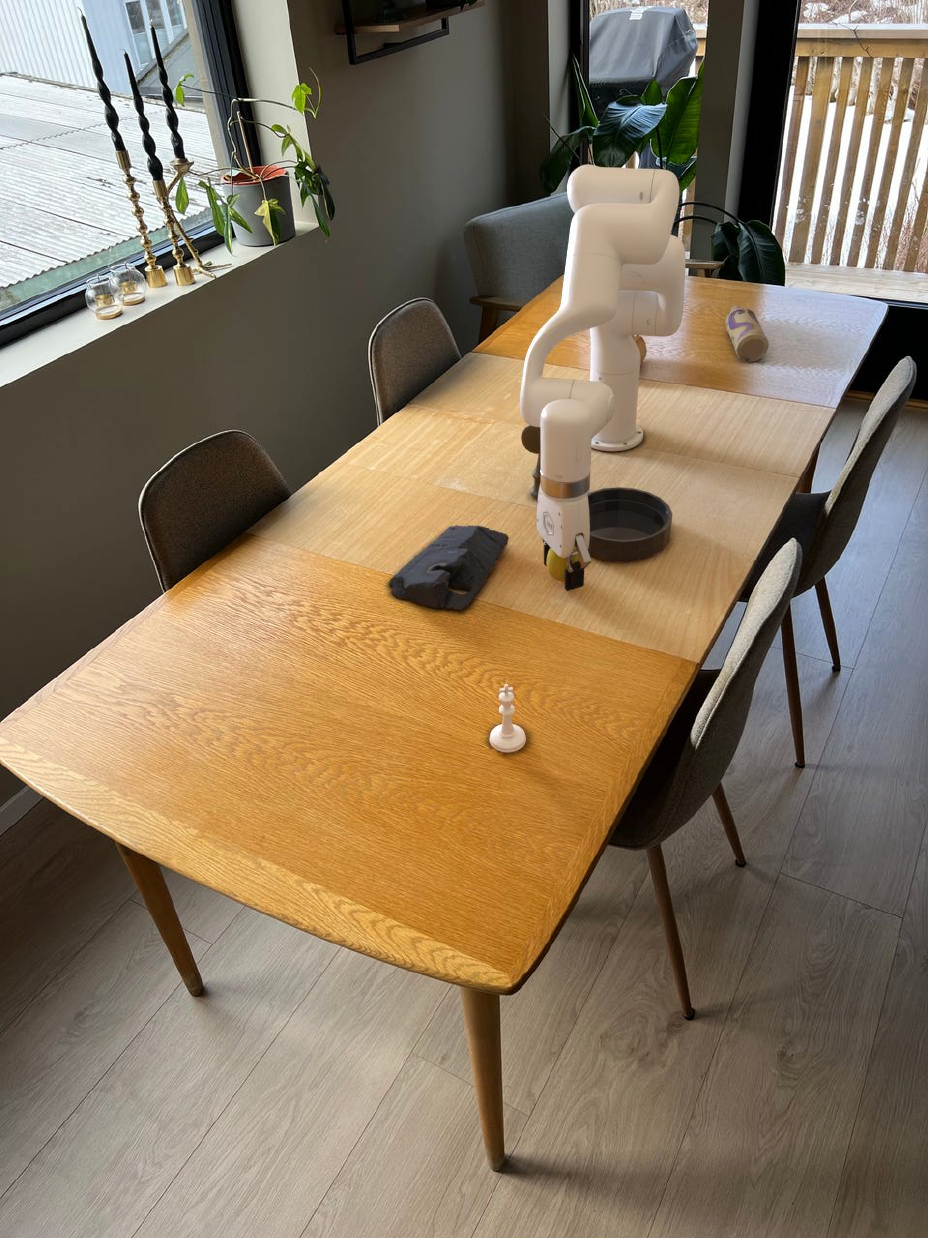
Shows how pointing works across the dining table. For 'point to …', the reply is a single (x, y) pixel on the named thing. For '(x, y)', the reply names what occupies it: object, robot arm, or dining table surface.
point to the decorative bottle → (746, 334)
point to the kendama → (533, 444)
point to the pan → (627, 524)
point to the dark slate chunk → (450, 567)
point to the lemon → (558, 565)
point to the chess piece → (507, 725)
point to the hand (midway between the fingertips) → (563, 574)
